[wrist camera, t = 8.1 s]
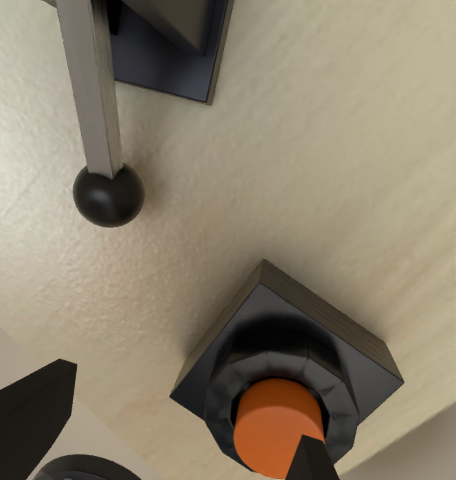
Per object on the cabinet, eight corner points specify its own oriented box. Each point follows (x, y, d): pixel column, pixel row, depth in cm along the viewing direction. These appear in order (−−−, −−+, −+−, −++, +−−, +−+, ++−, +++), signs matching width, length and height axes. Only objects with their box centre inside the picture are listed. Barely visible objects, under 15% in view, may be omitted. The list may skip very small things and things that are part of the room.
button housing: (294, 434, 22) (297, 518, 17) (185, 360, 21) (156, 424, 17) (386, 343, 19) (420, 412, 14) (263, 257, 19) (256, 299, 14)
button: (287, 458, 16) (287, 494, 15) (223, 414, 16) (216, 446, 15) (338, 409, 15) (344, 442, 14) (269, 362, 15) (267, 390, 13)
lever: (155, 206, 18) (129, 249, 16) (99, 190, 18) (66, 230, 16) (145, -201, 8) (77, -224, 6) (27, -224, 9) (-76, -252, 7)
